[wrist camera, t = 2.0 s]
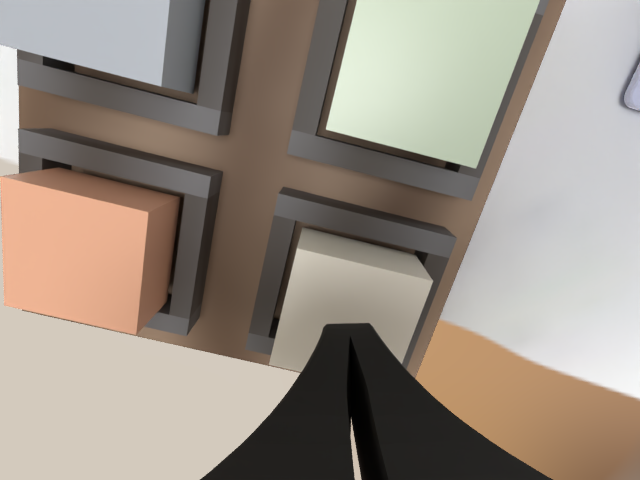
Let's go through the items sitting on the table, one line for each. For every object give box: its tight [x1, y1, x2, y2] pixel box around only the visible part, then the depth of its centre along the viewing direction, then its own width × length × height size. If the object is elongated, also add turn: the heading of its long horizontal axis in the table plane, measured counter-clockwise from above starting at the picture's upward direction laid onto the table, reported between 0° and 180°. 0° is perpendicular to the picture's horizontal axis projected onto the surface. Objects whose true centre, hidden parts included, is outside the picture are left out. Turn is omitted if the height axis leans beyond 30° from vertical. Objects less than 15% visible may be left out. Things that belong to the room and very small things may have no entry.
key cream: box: [269, 227, 433, 372], centre depth 13 cm, size 4×4×2 cm
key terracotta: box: [0, 167, 180, 335], centre depth 12 cm, size 4×4×2 cm
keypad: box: [17, 0, 566, 378], centre depth 14 cm, size 18×18×4 cm
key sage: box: [326, 0, 540, 168], centre depth 10 cm, size 4×4×2 cm
